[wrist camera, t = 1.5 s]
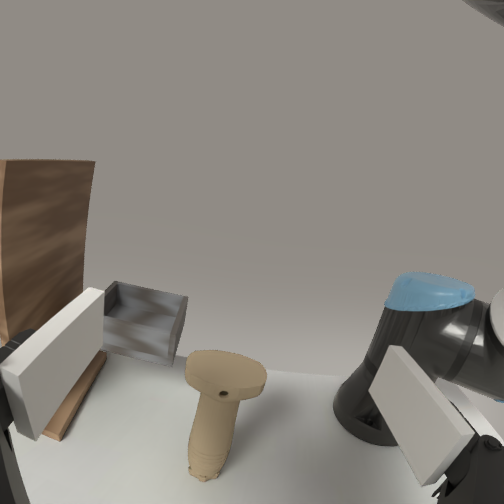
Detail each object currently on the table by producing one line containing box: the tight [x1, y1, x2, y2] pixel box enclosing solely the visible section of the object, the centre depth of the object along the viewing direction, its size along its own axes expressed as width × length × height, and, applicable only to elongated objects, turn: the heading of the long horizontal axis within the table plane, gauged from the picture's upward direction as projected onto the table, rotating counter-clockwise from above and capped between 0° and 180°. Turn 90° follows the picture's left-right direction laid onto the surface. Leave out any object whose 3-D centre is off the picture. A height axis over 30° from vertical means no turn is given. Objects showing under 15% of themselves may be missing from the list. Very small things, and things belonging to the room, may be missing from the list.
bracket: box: [0, 159, 188, 441], centre depth 30 cm, size 16×18×28 cm
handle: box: [185, 350, 267, 482], centre depth 25 cm, size 5×6×15 cm
